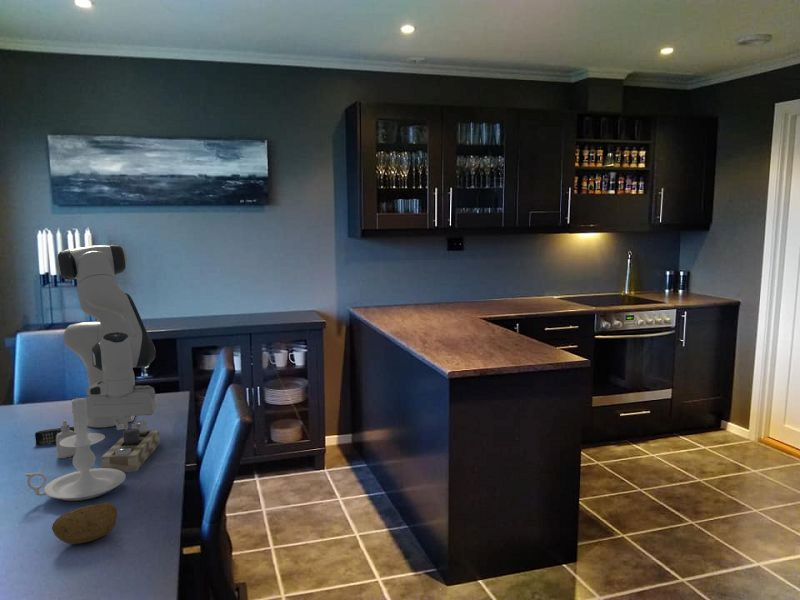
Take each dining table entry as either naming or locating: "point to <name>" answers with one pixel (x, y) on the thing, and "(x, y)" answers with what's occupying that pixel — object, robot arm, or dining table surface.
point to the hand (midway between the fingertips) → (122, 429)
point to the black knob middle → (131, 437)
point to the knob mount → (135, 457)
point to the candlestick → (80, 464)
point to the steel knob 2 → (140, 427)
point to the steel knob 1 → (123, 450)
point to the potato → (85, 523)
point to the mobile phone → (48, 436)
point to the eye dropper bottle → (66, 432)
